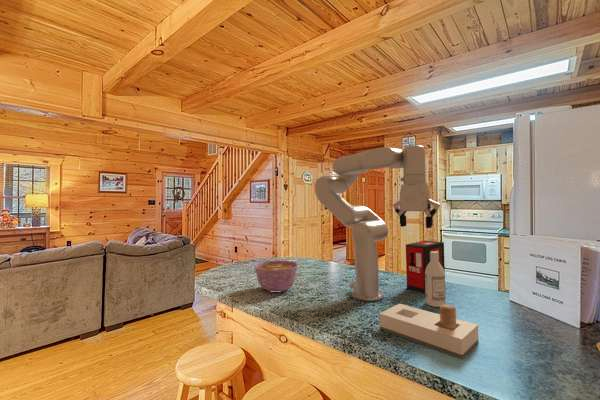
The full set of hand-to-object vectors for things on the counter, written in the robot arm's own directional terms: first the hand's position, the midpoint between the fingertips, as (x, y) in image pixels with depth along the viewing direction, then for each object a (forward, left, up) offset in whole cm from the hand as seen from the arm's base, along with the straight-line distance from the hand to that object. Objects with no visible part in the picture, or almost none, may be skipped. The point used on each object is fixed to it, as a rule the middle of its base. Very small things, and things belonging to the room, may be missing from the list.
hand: (415, 227), depth 106 cm
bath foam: (+2, +10, -31) cm, 32 cm away
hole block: (+11, -17, -30) cm, 36 cm away
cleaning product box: (-10, +28, -31) cm, 43 cm away
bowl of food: (-57, -21, -31) cm, 68 cm away
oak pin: (+17, -17, -29) cm, 38 cm away
